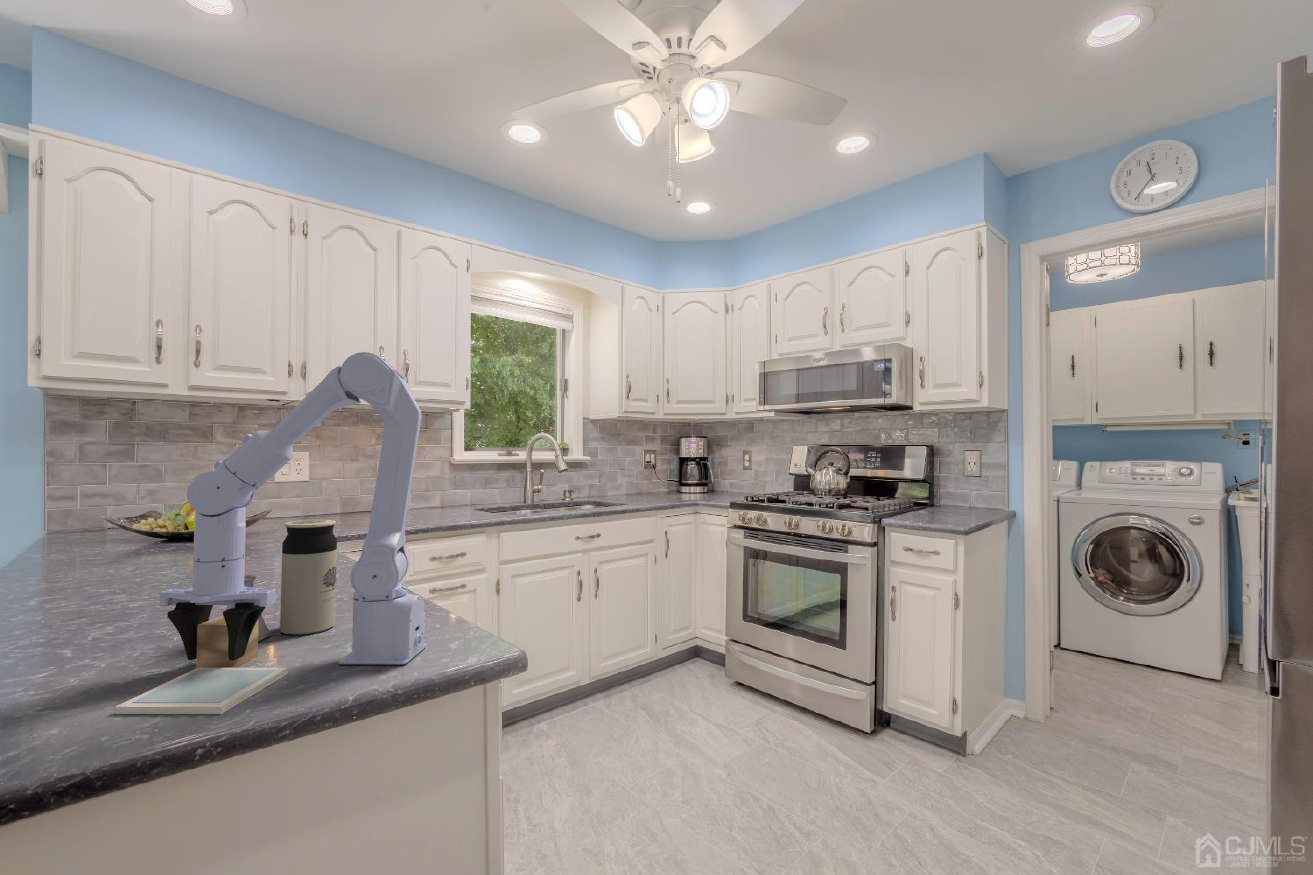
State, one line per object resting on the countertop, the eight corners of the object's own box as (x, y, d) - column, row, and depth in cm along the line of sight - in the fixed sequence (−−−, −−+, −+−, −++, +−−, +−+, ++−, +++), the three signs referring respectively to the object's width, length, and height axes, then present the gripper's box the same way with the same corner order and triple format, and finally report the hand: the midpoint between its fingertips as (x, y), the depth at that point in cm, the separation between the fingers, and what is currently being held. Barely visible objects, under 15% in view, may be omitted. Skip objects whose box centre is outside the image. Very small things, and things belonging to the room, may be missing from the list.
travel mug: (267, 634, 94) (271, 523, 95) (307, 620, 102) (309, 518, 102) (308, 637, 92) (311, 525, 93) (345, 623, 100) (348, 520, 101)
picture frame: (287, 673, 77) (287, 666, 77) (221, 713, 65) (222, 705, 65) (197, 673, 77) (197, 666, 77) (114, 713, 65) (115, 705, 65)
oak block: (257, 656, 84) (258, 614, 84) (232, 669, 79) (234, 625, 79) (222, 656, 84) (224, 614, 84) (195, 669, 79) (197, 624, 79)
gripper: (141, 563, 75) (137, 668, 75) (252, 564, 76) (249, 668, 75) (184, 554, 82) (181, 649, 82) (286, 555, 83) (283, 650, 82)
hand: (216, 657), depth 79 cm, fingers closed on oak block, 5 cm apart
